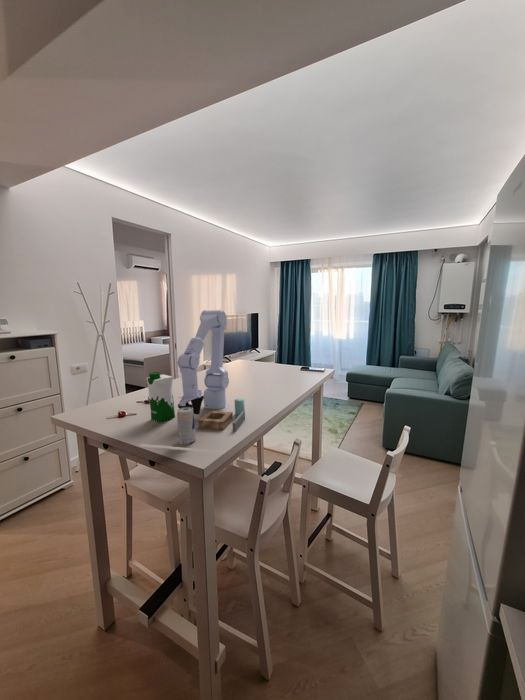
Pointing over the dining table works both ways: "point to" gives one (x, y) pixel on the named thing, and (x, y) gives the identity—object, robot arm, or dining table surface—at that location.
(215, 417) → the socket block
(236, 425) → the board
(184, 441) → the energy drink
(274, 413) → the dining table surface
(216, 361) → the robot arm
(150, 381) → the milk carton
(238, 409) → the dowel
